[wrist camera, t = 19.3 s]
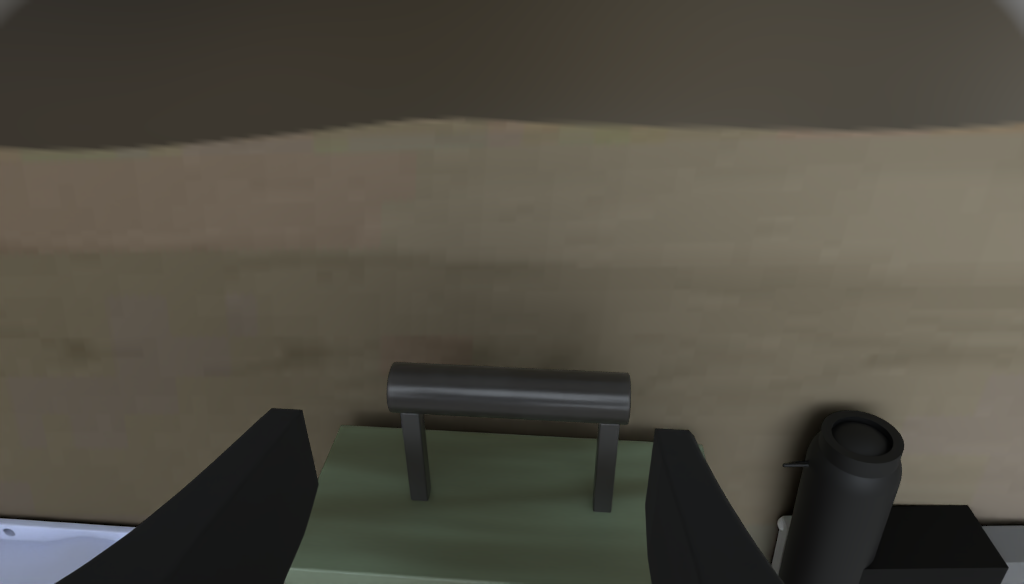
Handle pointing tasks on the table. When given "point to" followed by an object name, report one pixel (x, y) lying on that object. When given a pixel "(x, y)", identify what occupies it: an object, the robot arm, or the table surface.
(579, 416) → the drawer
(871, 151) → the table surface
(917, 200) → the table surface
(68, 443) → the table surface
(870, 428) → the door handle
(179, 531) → the robot arm
